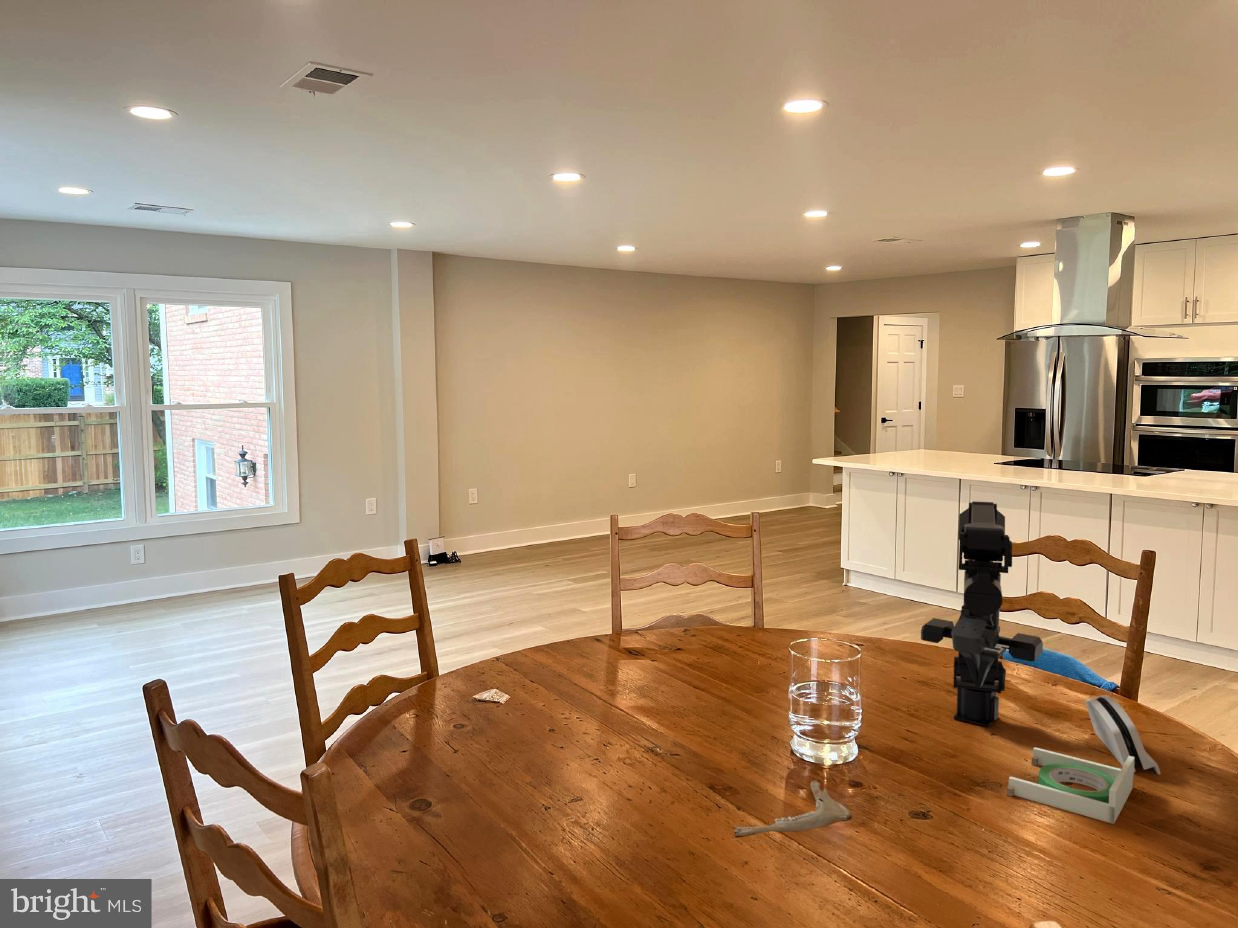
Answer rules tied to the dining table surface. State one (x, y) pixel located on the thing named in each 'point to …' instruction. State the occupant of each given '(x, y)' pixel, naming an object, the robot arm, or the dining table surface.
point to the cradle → (1073, 801)
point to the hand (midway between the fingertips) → (978, 686)
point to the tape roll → (1076, 780)
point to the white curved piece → (1118, 732)
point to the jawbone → (805, 816)
